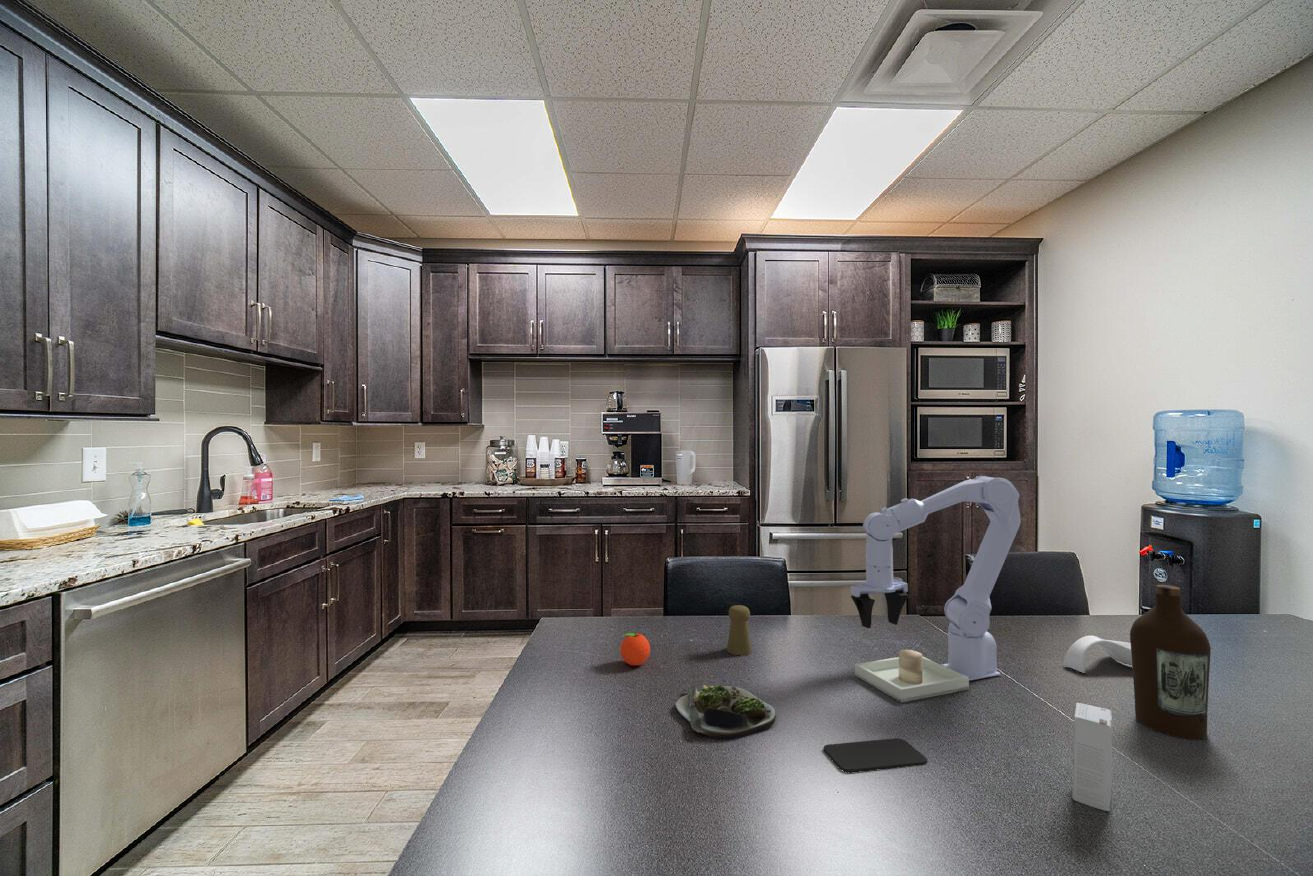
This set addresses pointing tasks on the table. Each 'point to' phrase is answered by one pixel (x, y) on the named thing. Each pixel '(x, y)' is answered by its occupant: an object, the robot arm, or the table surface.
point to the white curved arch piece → (1081, 646)
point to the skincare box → (1092, 756)
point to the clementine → (635, 649)
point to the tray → (887, 680)
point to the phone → (874, 755)
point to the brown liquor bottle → (1170, 668)
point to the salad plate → (725, 711)
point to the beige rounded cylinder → (910, 666)
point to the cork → (739, 631)
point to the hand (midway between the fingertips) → (879, 625)
